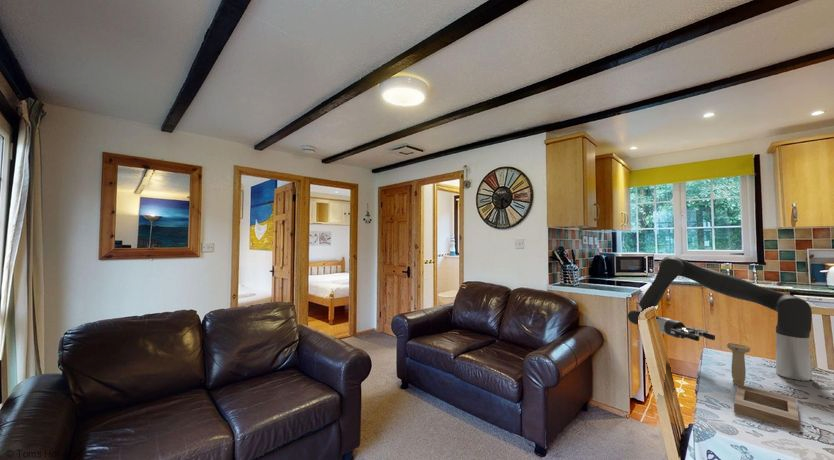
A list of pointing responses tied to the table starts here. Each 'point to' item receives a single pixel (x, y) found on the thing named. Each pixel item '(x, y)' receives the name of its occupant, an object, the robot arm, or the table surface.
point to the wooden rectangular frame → (765, 412)
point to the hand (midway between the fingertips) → (706, 338)
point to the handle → (738, 362)
